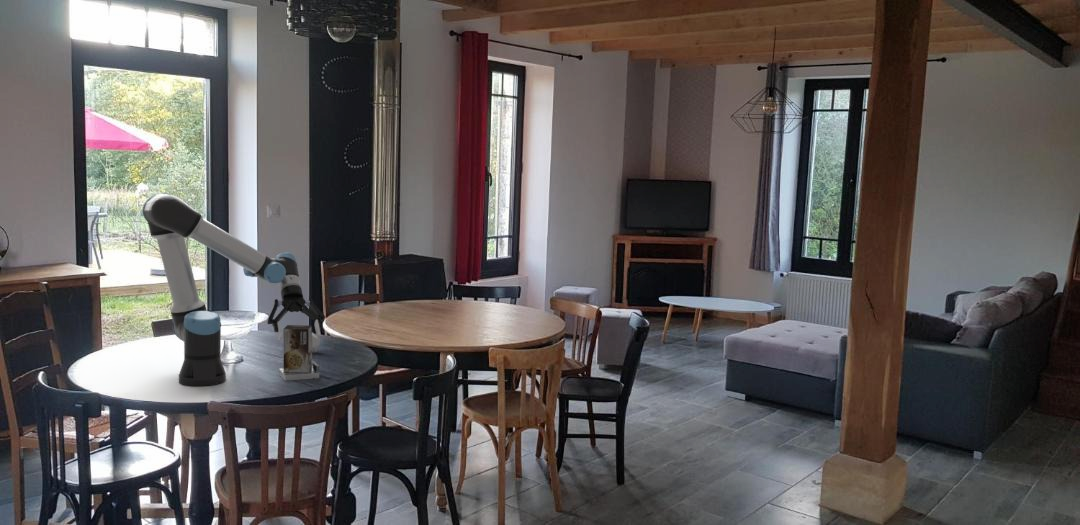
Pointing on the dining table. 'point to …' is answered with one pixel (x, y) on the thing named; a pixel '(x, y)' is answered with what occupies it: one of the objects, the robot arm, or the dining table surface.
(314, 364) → the tray
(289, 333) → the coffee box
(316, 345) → the die
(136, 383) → the dining table surface
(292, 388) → the dining table surface
